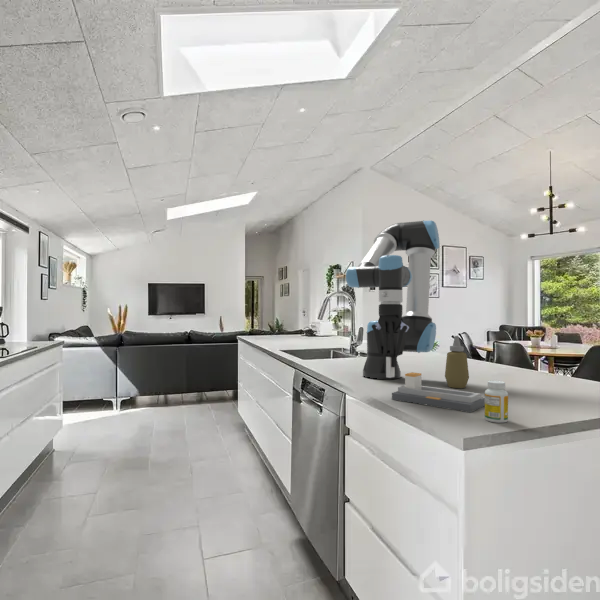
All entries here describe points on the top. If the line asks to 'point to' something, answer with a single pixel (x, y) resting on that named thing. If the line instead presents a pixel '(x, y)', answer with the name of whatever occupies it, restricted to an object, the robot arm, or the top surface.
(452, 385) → the squeeze bottle
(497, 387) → the supplement bottle
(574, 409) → the top surface
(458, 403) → the console board
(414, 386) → the fader tab
